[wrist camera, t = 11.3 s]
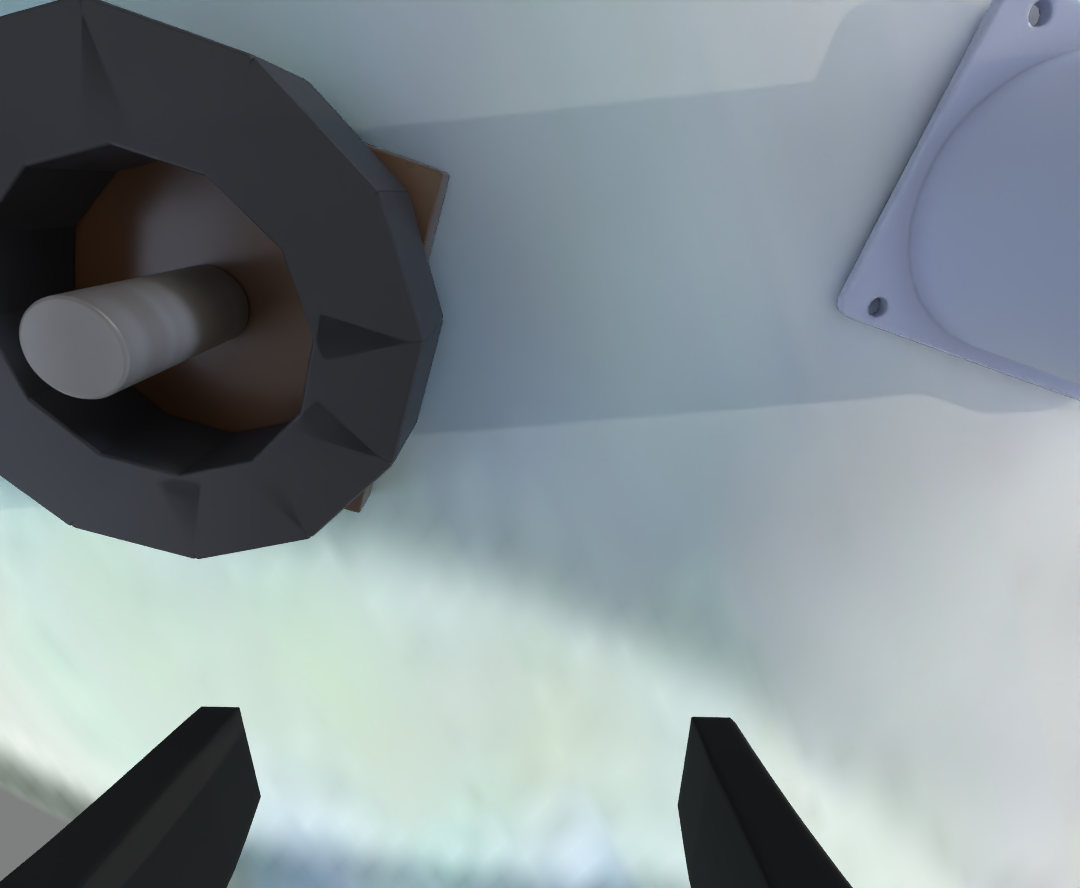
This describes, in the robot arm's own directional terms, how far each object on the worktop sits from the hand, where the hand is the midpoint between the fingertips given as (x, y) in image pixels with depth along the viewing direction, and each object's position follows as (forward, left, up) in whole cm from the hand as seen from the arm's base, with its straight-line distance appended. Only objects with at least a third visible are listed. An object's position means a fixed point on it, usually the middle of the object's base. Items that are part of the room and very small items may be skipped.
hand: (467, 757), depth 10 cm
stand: (+9, -3, -10) cm, 14 cm away
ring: (+9, -3, -9) cm, 13 cm away
